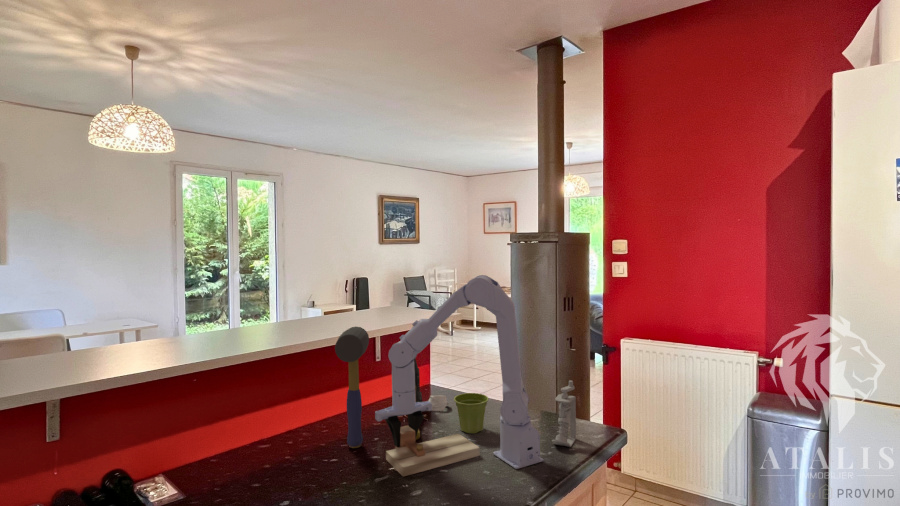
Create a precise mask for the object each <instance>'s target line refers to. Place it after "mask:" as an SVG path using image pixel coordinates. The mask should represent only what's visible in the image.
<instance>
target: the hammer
mask: <svg viewBox="0 0 900 506" xmlns="http://www.w3.org/2000/svg"><path fill="white" fill-rule="evenodd" d="M416 359H417V358H415V359H414V370H415V402H423V395H422V392H421V389H420V388H421V383H420V381H421V380H420V378H421V377H420V368H419V367H418V365H417V364H418V363H417V360H416ZM420 437H421V432H420V428H419V429H418V432H417V436H416V440H419V439H420Z"/></svg>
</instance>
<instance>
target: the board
mask: <svg viewBox="0 0 900 506" xmlns="http://www.w3.org/2000/svg"><path fill="white" fill-rule="evenodd" d="M417 444H422V445H423V449H424V450H425V455H423V456H419V457H418V456H416V455H415V454H414V453H413V452H412V451H411V450H409V449H408V448H407V447H406V446H405V447H401V448H397V449H395V448H393V449H389V450H386V451H385V460H386V461H387V462H388V463H389V464H390V465H391V466H392V467H393V468H394V469H395V470H396V471H397V472H398V474H400V475H401V477H406V476H407V477H408V476H411V475H414V474H417V473H421V472H426V471H429V470H433V469H436V468H440V467H444V466H447V465H451V464H454V463H458V462H462V461H465V460H469V459H473V458H476V457H480V452H481V451H480V446H479V445H476V444H475V443H473V442H472V441H470V440H469V439H467V438H466V437H465V436H463V435H461V434H460V433H455V434H451V435H448V436H444V437H439V438H435V439H430V440H426V441H422V442H417Z"/></svg>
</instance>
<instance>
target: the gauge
mask: <svg viewBox="0 0 900 506" xmlns="http://www.w3.org/2000/svg"><path fill="white" fill-rule="evenodd" d="M416 441H417V440H416ZM416 441H415V431H414V430H413V429H412V428H411V427H409V425H404V426H401V428H400V447H396V446H395V445H394V449H397V448H401V447H405V446H406V447H407V448H408V449H409V450H411V451H412V452H413V453H414V454H415V455H416V456H418V457H419V456H423V455H425V450H424V449H423V445H422V444H418V442H416Z"/></svg>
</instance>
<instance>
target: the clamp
mask: <svg viewBox="0 0 900 506" xmlns="http://www.w3.org/2000/svg"><path fill="white" fill-rule="evenodd" d="M574 390H575V385H574V381H573V380H568V385H567V386H564V387H561V388H560V392H561V393H559V394H557V396H556V397H555V398H554V400H555V402H558V403H559V404H558V405H559V406H558V409H559V411H558V419H557V424H558V425H559V426H557V428H558V430H557V431H556V432H557V433H558V434H557V435H556V436H555V439H551V443H552V444H553V445H557V446H562V447H563V446H564V447H568V448H571V447H572V446H573V445H574V443H575V441H576V440H577V415H576V414H577V413H576V410H577V408H576V407H577V406H576V405H577V403H576V402H577V401H576V399H577V398H576V395H575V396H574V395H569V393H568V392H571V391H574ZM569 428H570V429H569ZM568 429H569V431H570V433H569V438H568V434H567V433H568V432H569V431H568Z"/></svg>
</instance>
